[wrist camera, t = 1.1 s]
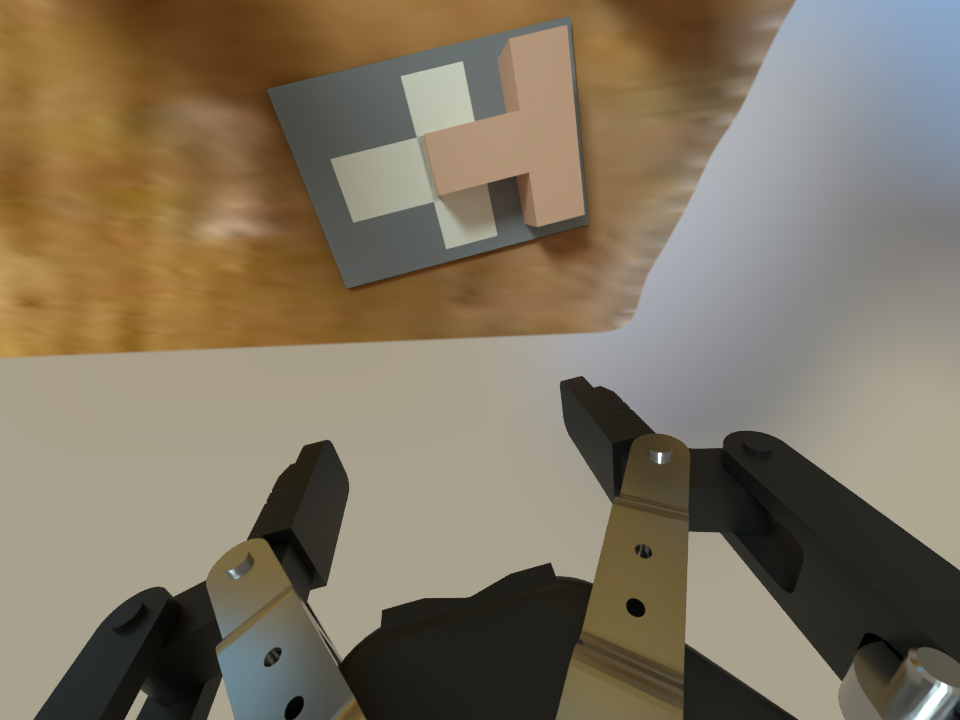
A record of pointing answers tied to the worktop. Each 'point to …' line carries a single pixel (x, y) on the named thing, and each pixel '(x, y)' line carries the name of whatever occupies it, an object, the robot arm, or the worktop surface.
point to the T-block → (521, 134)
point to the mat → (405, 158)
